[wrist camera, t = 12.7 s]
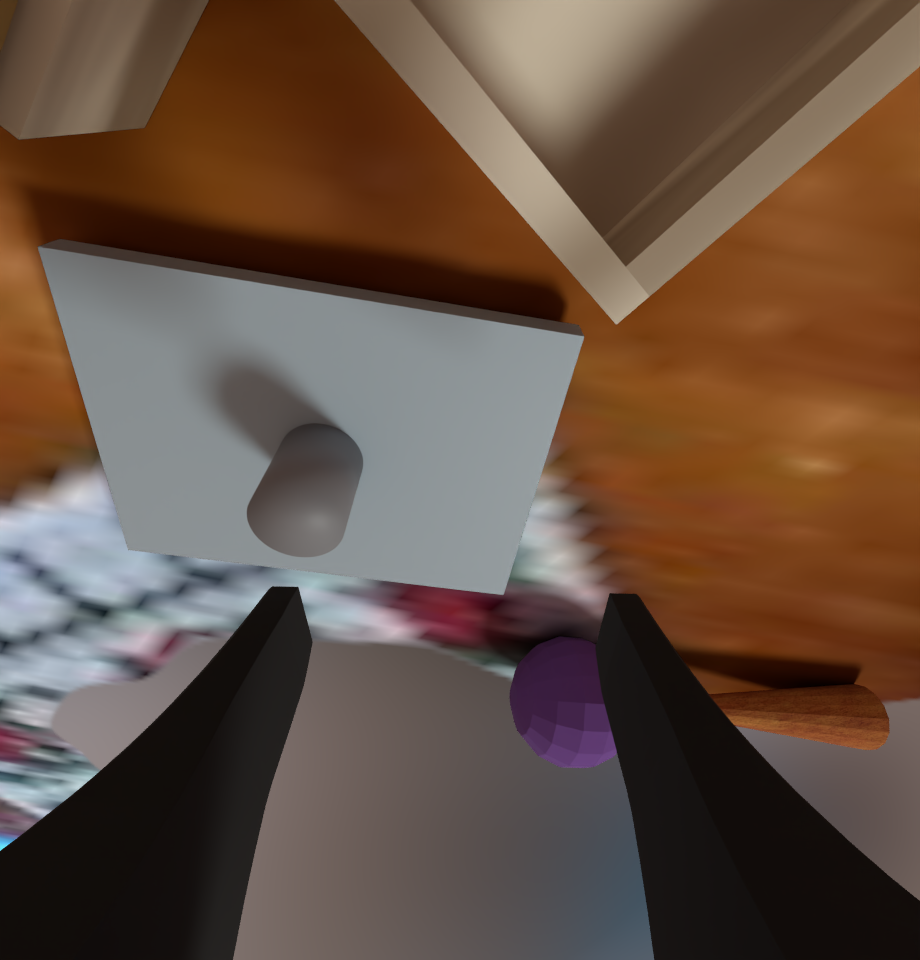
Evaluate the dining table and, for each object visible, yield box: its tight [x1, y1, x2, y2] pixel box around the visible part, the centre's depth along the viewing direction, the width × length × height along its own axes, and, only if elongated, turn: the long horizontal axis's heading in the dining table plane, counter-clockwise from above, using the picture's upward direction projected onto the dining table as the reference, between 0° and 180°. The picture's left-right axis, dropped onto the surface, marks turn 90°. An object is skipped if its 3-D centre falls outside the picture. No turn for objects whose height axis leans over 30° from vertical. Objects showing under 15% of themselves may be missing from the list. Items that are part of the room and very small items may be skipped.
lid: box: [38, 239, 584, 595], centre depth 18 cm, size 16×12×6 cm
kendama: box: [510, 637, 889, 768], centre depth 27 cm, size 6×6×20 cm
